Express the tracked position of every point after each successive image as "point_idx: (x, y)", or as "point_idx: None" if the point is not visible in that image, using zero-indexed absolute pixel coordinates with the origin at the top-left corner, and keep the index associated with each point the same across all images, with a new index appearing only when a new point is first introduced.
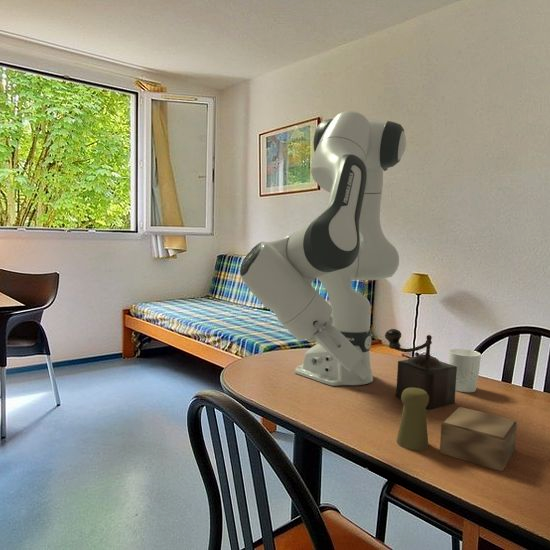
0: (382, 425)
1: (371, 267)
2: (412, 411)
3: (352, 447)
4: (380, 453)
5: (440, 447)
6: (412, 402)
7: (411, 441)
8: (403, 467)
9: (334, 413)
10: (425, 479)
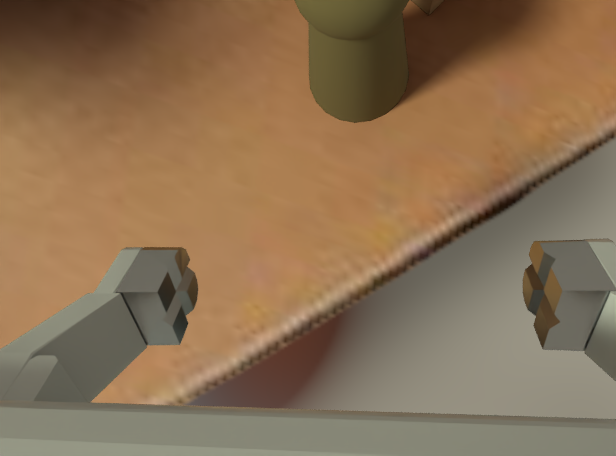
0: (214, 123)
1: None
2: (392, 24)
3: (369, 281)
4: (419, 202)
5: (431, 3)
6: (406, 3)
7: (400, 82)
8: (518, 163)
9: (95, 261)
10: (596, 125)
